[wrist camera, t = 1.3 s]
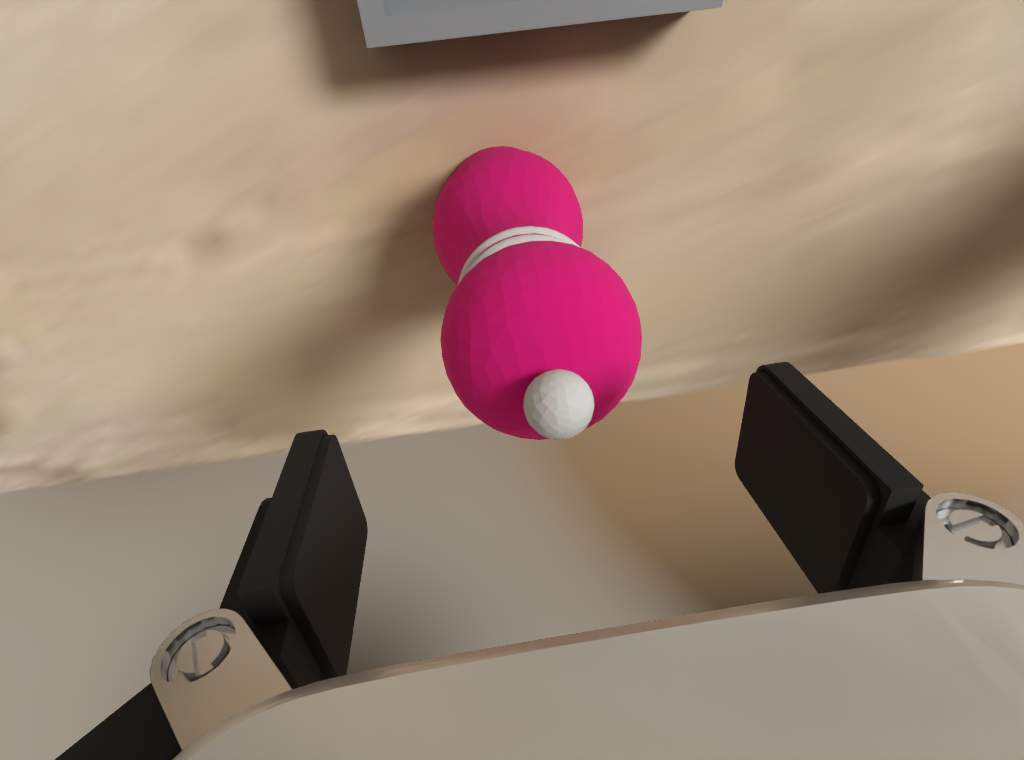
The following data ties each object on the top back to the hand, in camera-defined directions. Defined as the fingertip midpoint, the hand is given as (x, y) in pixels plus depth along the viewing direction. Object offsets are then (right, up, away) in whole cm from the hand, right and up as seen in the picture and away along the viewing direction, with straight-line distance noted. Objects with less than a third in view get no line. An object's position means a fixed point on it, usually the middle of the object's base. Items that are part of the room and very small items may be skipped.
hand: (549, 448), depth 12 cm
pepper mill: (-2, +11, +17) cm, 21 cm away
